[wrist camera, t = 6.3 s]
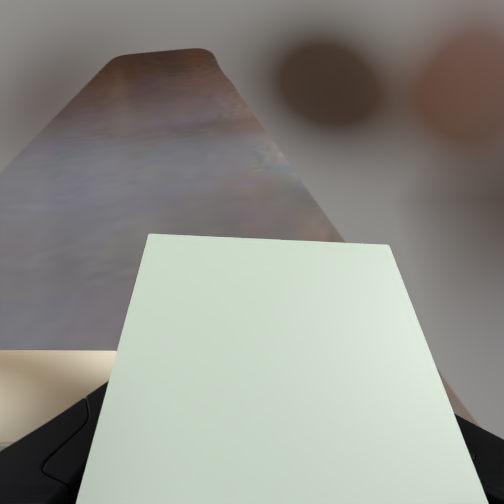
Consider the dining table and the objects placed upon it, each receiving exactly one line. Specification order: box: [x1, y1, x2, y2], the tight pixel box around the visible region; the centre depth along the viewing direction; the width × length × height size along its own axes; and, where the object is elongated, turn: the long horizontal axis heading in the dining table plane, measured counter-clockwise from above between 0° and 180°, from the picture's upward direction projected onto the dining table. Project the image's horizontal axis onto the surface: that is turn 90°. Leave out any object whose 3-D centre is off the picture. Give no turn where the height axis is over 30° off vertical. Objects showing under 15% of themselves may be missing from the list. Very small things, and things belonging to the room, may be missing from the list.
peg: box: [76, 234, 489, 504], centre depth 8 cm, size 4×4×12 cm
